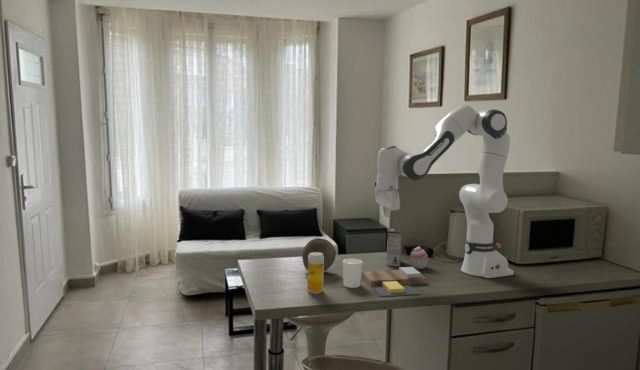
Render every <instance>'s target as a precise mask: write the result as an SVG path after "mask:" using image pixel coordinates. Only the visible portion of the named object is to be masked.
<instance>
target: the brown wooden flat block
mask: <svg viewBox="0 0 640 370" xmlns="http://www.w3.org/2000/svg"><path fill="white" fill-rule="evenodd" d="M361 279H363V280H364V281H365V283H366V284H368V286H369V287H370V288H371V286H382V282H383V281H397V282H398V283H399V284H400V285H403V284H409V285H410V286H411V285H413V286H414V285H427V284H428V279H427V276H425V275H424V274H423V273H421V277H413V278H407V277H406V276H404V275H403V274H402V273H401V272H399V269H393V270H391V269H390V270H371V271H370V270H368V271H362V273H361Z"/></svg>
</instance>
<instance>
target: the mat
mask: <svg viewBox="0 0 640 370" xmlns="http://www.w3.org/2000/svg"><path fill="white" fill-rule="evenodd" d="M401 286H403V287H404V288H405V292H402V293H389V292H388V291H387V290H386V289H385V288H384V287H383V286H371V287H370V288H371V289H372V290H373V291H374V292H375V294H377V296H378V297H379V298H385V297H404V296H419V295H420V294H421V293H420V292H418V290H416V289H415V288H414V287H413V286H411V285H409V284H403V285H401Z"/></svg>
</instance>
